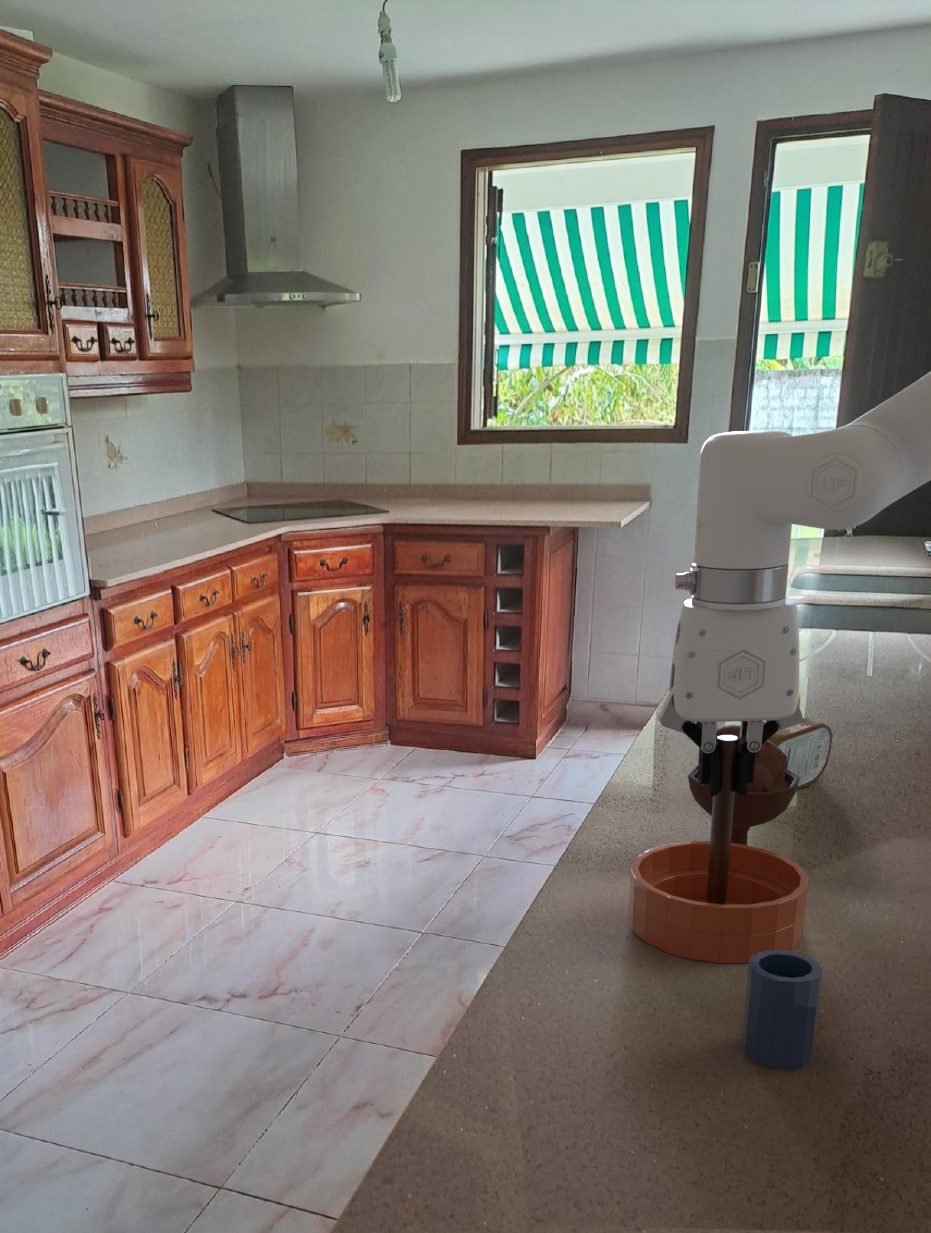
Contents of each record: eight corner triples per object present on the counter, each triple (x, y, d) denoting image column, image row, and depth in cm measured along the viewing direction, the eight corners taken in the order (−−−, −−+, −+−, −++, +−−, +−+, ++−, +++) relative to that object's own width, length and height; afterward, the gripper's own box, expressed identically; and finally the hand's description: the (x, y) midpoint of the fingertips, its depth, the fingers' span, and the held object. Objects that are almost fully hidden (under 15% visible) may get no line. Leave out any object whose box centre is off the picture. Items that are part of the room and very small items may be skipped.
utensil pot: (800, 1041, 91) (810, 949, 88) (820, 1077, 86) (831, 982, 83) (734, 1040, 91) (742, 949, 89) (750, 1076, 87) (759, 982, 84)
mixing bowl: (776, 896, 115) (781, 840, 113) (823, 969, 101) (830, 907, 99) (618, 897, 117) (620, 842, 115) (643, 969, 103) (646, 908, 101)
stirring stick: (722, 917, 110) (736, 734, 103) (726, 925, 108) (740, 740, 102) (702, 917, 110) (715, 734, 103) (706, 925, 108) (719, 740, 102)
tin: (810, 773, 149) (816, 710, 146) (833, 779, 146) (840, 714, 143) (739, 801, 141) (744, 735, 138) (761, 808, 138) (767, 740, 135)
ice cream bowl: (761, 889, 117) (774, 747, 112) (663, 861, 125) (671, 727, 120) (811, 858, 124) (825, 722, 118) (715, 833, 131) (724, 705, 126)
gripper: (650, 596, 95) (640, 806, 102) (851, 589, 93) (828, 803, 100) (636, 581, 102) (628, 779, 109) (823, 574, 100) (803, 776, 107)
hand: (724, 789), depth 104 cm, fingers closed on stirring stick, 1 cm apart
